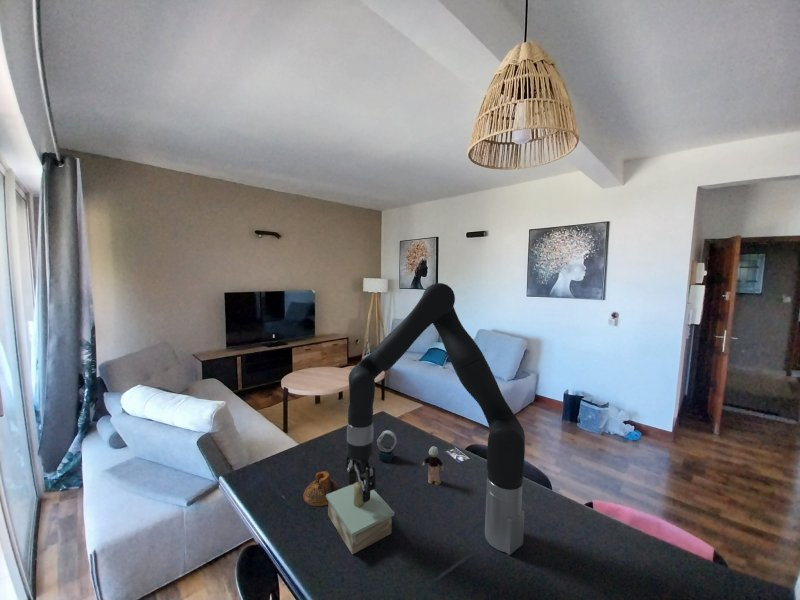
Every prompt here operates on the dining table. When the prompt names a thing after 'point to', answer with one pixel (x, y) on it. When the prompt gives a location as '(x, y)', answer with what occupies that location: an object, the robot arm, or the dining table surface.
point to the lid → (358, 508)
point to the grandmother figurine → (433, 466)
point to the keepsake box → (363, 537)
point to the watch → (386, 452)
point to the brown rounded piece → (320, 489)
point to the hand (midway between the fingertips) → (358, 492)
